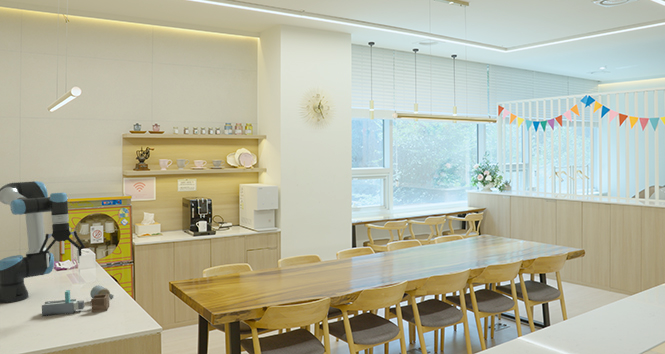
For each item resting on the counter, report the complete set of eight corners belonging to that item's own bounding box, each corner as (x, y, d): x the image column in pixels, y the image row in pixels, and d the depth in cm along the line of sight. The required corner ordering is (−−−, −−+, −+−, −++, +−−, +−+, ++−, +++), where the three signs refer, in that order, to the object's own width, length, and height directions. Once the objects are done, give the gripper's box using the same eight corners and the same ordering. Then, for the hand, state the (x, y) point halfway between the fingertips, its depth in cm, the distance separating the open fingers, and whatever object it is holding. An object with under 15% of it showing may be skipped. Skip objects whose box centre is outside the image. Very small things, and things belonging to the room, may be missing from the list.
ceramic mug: (98, 303, 259) (97, 289, 259) (90, 300, 264) (89, 286, 264) (116, 298, 268) (116, 284, 267) (108, 296, 273) (108, 282, 272)
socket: (94, 307, 253) (94, 295, 252) (109, 305, 255) (108, 293, 254) (91, 312, 245) (91, 299, 245) (106, 310, 247) (106, 298, 247)
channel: (46, 312, 246) (45, 301, 246) (76, 309, 250) (76, 299, 249) (42, 316, 240) (41, 305, 239) (73, 313, 244) (72, 302, 243)
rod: (45, 310, 244) (44, 292, 244) (84, 307, 249) (83, 288, 249) (42, 313, 241) (41, 294, 241) (82, 309, 246) (81, 290, 245)
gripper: (31, 226, 238) (34, 269, 238) (87, 220, 249) (90, 262, 249) (32, 225, 244) (35, 267, 244) (88, 219, 255) (90, 260, 256)
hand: (63, 264), depth 247 cm, fingers open, 13 cm apart
